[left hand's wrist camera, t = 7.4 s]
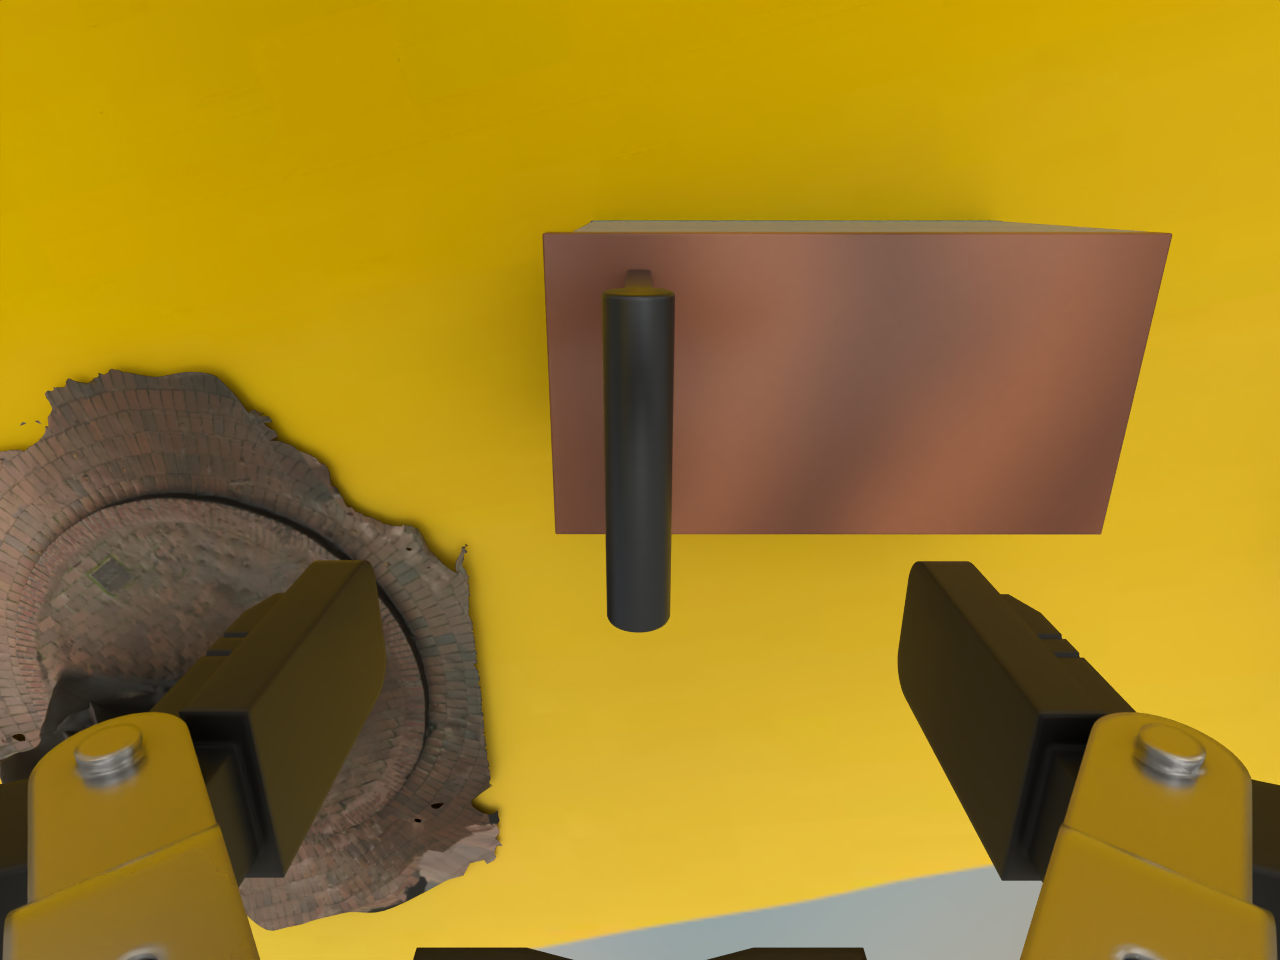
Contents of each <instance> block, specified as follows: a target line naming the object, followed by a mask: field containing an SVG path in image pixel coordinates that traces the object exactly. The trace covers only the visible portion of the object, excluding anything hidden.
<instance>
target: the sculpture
mask: <svg viewBox="0 0 1280 960" xmlns="http://www.w3.org/2000/svg"><path fill="white" fill-rule="evenodd" d="M53 388H54V387H53ZM45 395H46V398H47V399H48V400H49V402H50V404H51V406H52V412H51V413H50V415H49V416H48V424H49V427H47V426H45V428H46V431H45V433H44V435H43V436H42V438H41V439H40V440H39V441H38V442H37V443H35V444H34V445H32V446H30V447H29V448H27V450H26V451H21V450H9V451H3V452H0V779H1V781H2V784H4V783H9V782H14V781H19V780H23V779H28V778H29V777H30V775H31V773H32V770H33V769H34V767H35V766H36V765H37V763H38V762H39V761H40V760H41V759H42V758H43V757H44V756H45V755H46V754H47V753H48V752H49V751H51V750H52V749H53V748H54V747H56V746H57V745H58V744H60V743H61V742H63V741H64V740H66V739H67V738H69V737H71V736H73V735H74V734H76V733H78V732H80V731H82V730H84V729H86V728H89V727H91V726H93V725H96V724H98V723H101V722H104V721H106V720H110V719H113V718H117V717H120V716H125V715H130V714H136V713H144V712H149V711H150V710H151V709H152V708H153V707H154V706H155V705H156V704H157V703H158V701H159V700H160V699H161V698H162V697H163V696H164V695H165V694H166V693H167V692H168V691H169V690H170V689H171V688H172V687H173V686H174V685H175V684H176V683H177V682H178V681H179V679H180V678H181V677H182V676H183V675H184V674H185V673H186V672H187V671H188V670H189V669H190V668H191V667H192V666H193V665H194V664H195V663H196V662H197V661H198V660H199V658H200V657H201V656H206V651H207V650H208V649H209V648H210V647H211V646H212V645H213V644H214V643H215V642H216V641H217V640H218V639H219V638H223V637H224V632H225V631H226V630H227V629H228V628H229V627H230V626H231V625H232V624H233V623H234V622H235V621H236V620H237V619H238V618H239V617H240V616H241V614H242V613H243V612H244V611H246V610H248V609H250V608H251V607H253V606H255V605H256V604H258V603H260V602H262V601H263V600H265V599H267V598H269V597H270V596H272V595H274V594H275V593H285V592H286V591H287V590H288V589H289V588H290V586H291V585H292V584H293V583H294V582H295V581H296V580H297V579H298V578H299V576H300V575H301V574H302V573H303V572H304V571H305V570H306V569H307V568H308V566H309V565H310V564H311V563H312V562H314V561H316V560H367V561H369V562H370V563H371V565H372V567H373V569H374V573H375V577H376V584H377V591H378V599H379V606H380V613H381V620H382V627H383V634H384V642H385V649H386V671H385V678H384V683H383V687H382V690H381V692H380V695H379V697H378V699H377V701H376V703H375V704H374V706H373V708H372V710H371V712H370V714H369V716H368V718H367V720H366V722H365V724H364V725H363V727H362V729H361V731H360V733H359V735H358V737H357V739H356V741H355V743H354V745H353V747H352V748H351V750H350V752H349V754H348V756H347V758H346V760H345V762H344V764H343V766H342V768H341V769H340V771H339V773H338V775H337V777H336V779H335V781H334V783H333V785H332V787H331V789H330V791H329V792H328V794H327V796H326V798H325V800H324V802H323V804H322V806H321V808H320V810H319V812H318V813H317V815H316V817H315V819H314V821H313V823H312V825H311V827H310V829H309V831H308V833H307V834H306V836H305V838H304V840H303V842H302V844H301V846H300V848H299V850H298V852H297V854H296V856H295V857H294V859H293V861H292V863H291V865H290V867H289V869H288V871H287V873H286V875H285V877H284V878H244V880H243V882H242V883H241V885H240V887H239V891H240V895H241V898H242V901H243V905H244V908H245V911H246V915H247V916H248V917H249V918H251V919H252V920H253V921H254V922H255V923H256V924H258V925H259V926H261V927H262V928H264V929H266V930H272V931H274V930H278V929H282V928H286V927H290V926H296V925H300V924H304V923H307V922H309V921H312V920H316V919H319V918H324V917H328V916H333V915H337V914H341V913H346V912H366V913H373V912H380V911H384V910H387V909H390V908H393V907H395V906H398V905H400V904H402V903H404V902H406V901H408V900H410V899H412V898H414V897H416V896H418V895H420V894H422V893H424V892H426V891H428V890H429V889H431V888H433V887H435V886H437V885H439V884H441V883H442V882H444V881H446V880H448V879H452V878H456V877H459V876H463V875H464V873H465V871H466V869H467V867H468V866H469V864H470V863H472V862H476V861H481V860H485V862H486V863H487V864H488V863H490V862H492V861H493V860H495V858H496V856H495V855H494V852H495V849H496V846H502V845H501V844H500V843H499V841H498V840H497V839H495V838H496V836H497V835H498V834H499V830H498V827H497V824H498V822H499V817H498V811H497V812H496V813H494V814H484V813H482V812H480V811H478V810H476V809H475V808H474V807H473V806H472V804H471V802H472V800H473V799H474V798H476V797H477V796H478V795H479V794H481V793H482V792H483V791H485V790H486V789H488V788H489V786H490V785H492V784H490V785H489V781H490V771H489V769H488V767H489V763H488V761H487V752H486V749H485V746H486V743H485V736H484V735H483V734H484V733H485V732H483V731H484V724H483V722H484V721H483V712H481V710H482V708H481V705H482V704H481V701H482V699H481V691H480V686H479V683H478V682H479V676H478V670H477V669H476V667H475V666H474V664H475V663H477V660H476V654H477V653H476V649H474V648H475V645H474V644H475V641H474V636H473V634H474V633H473V632H472V630H473V628H472V621H471V620H470V617H469V615H468V612H469V610H468V607H469V601H468V597H469V596H470V595H469V589H468V588H469V584H468V578H469V576H468V575H467V574H466V571H465V569H464V568H463V567H462V563H463V560H464V553H466V552H467V551H466V550H465V547H462V551H461V553H460V555H459V557H458V559H457V561H456V568H455V569H456V570H457V572H458V573H455V572H453V571H452V570H450V569H449V568H447V567H446V566H445V565H444V564H442V563H441V562H440V561H439V560H438V558H437V557H436V556H435V555H434V553H432V552H431V550H430V549H429V548H428V546H427V544H426V542H425V540H424V538H423V536H422V534H421V532H420V531H419V530H418V529H417V528H414V527H413V526H409V525H408V526H406V525H402V526H396V525H395V526H392V525H387V524H383V523H381V522H380V521H378V520H375V519H374V518H372V517H365V516H364V515H363V514H362V513H358V512H355V511H354V509H353V508H352V507H350V508H349V507H347V506H346V505H345V503H344V501H343V497H342V496H341V495H340V493H339V491H338V489H337V488H336V487H334V486H331V480H330V473H329V471H328V470H327V468H328V467H326V466H325V465H324V464H321V463H320V462H319V461H318V459H316V458H314V457H313V456H311V455H309V454H306V453H303V452H300V451H298V450H297V449H296V448H294V447H293V446H291V445H288V444H286V443H283V442H281V441H270V440H272V439H274V438H276V437H277V433H276V432H275V431H274V430H272V429H270V428H268V427H267V426H266V425H265V424H264V423H268V422H271V421H272V420H271V419H270V418H269V417H266V416H259V415H260V414H264V413H257V411H256V410H250V412H249V413H248V412H247V411H246V409H245V408H244V406H243V405H242V403H241V402H240V401H239V399H238V398H237V397H236V396H235V395H234V393H233V392H232V391H231V390H229V389H228V388H227V387H226V386H225V385H224V384H223V383H222V382H221V380H219V379H218V378H217V377H216V376H214V375H211V374H207V373H201V372H184V373H177V374H172V375H167V376H162V377H148V376H142V375H136V374H132V373H125V372H121V371H119V370H113V369H111V370H109V372H108V373H107V374H105V375H102V374H100V373H99V377H97V378H94V379H93V380H92V381H91V382H90V383H81V382H76V381H73V380H71V379H67V381H66V386H65V387H57V388H54V390H53V391H47V392H46V393H45ZM35 422H37V423H40V422H39V421H35ZM23 424H26V423H24V422H23V423H21V425H23ZM40 424H41V423H40ZM21 425H20V426H21ZM465 545H466V544H465ZM466 546H468V545H466ZM406 548H411V549H412V550H411V551H407V550H406ZM428 567H430V568H428ZM15 734H23V735H24V736H25V738H26V740H25V741H18V740H15V739H14V738H13V737H12V736H13V735H15ZM492 786H493V785H492ZM490 787H491V786H490ZM436 803H444V805H442V806H441V807H440V808H438V809H434V808H432V807H431V805H432V804H436ZM415 819H420V820H421V822H420V823H418V822H415V821H414V820H415Z"/></svg>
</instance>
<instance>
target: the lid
mask: <svg viewBox="0 0 1280 960" xmlns="http://www.w3.org/2000/svg"><path fill="white" fill-rule="evenodd" d="M1171 238H1172V234H1171V233H1160V232H546V233H543V257H544V280H545V303H546V326H547V349H548V372H549V395H550V418H551V441H552V464H553V487H554V510H555V533H556V534H606V579H607V617H608V619H609V621H610V623H611V624H612V625H614V626H615V627H617V628H619V629H621V630H624V631H629V632H649V631H653V630H656V629H658V628H661V627H662V626H664V625H665V624H666V623H667V621H668V619H669V617H670V585H671V534H1101V532H1102V528H1103V524H1104V520H1105V516H1106V511H1107V507H1108V503H1109V499H1110V494H1111V490H1112V486H1113V482H1114V478H1115V473H1116V469H1117V465H1118V461H1119V457H1120V452H1121V448H1122V444H1123V440H1124V436H1125V431H1126V427H1127V423H1128V419H1129V415H1130V410H1131V406H1132V402H1133V398H1134V394H1135V389H1136V385H1137V381H1138V377H1139V373H1140V368H1141V364H1142V360H1143V356H1144V351H1145V347H1146V343H1147V339H1148V335H1149V330H1150V326H1151V322H1152V318H1153V314H1154V309H1155V305H1156V301H1157V297H1158V293H1159V288H1160V284H1161V280H1162V276H1163V272H1164V267H1165V263H1166V259H1167V255H1168V251H1169V246H1170V242H1171Z"/></svg>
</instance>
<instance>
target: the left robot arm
mask: <svg viewBox="0 0 1280 960" xmlns="http://www.w3.org/2000/svg"><path fill="white" fill-rule="evenodd" d="M385 671H386V649H385V642H384V634H383V627H382V620H381V613H380V606H379V599H378V591H377V584H376V577H375V573H374V569H373V567H372V565H371V563H370V562H369V561H367V560H316V561H314V562H312V563H311V564H310V565H309V566H308V568H307V569H306V570H305V571H304V572H303V573H302V574H301V575H300V576H299V578H298V579H297V580H296V581H295V582H294V583H293V584H292V585H291V586H290V588H289V589H288V590H287V591H286V592H285V593H275V594H274V595H272V596H270V597H269V598H267V599H265V600H263V601H262V602H260V603H258V604H256V605H255V606H253V607H251V608H250V609H248V610H246V611H244V612H243V613H242V614H241V616H240V617H239V618H238V619H237V620H236V621H235V622H234V623H233V624H232V625H231V626H230V627H229V628H228V629H227V630H226V631H225V632H224V637H223V638H219V639H218V640H217V641H216V642H215V643H214V644H213V645H212V646H211V647H210V648H209V649H208V650H207V651H206V656H201V657H200V658H199V660H198V661H197V662H196V663H195V664H194V665H193V666H192V667H191V668H190V669H189V670H188V671H187V672H186V673H185V674H184V675H183V676H182V677H181V678H180V679H179V681H178V682H177V683H176V684H175V685H174V686H173V687H172V688H171V689H170V690H169V691H168V692H167V693H166V694H165V695H164V696H163V697H162V698H161V699H160V700H159V701H158V703H157V704H156V705H155V706H154V707H153V708H152V709H151V710H150V711H149V712H144V713H136V714H130V715H125V716H120V717H117V718H113V719H110V720H106V721H104V722H101V723H98V724H96V725H93V726H91V727H89V728H86V729H84V730H82V731H80V732H78V733H76V734H74V735H73V736H71V737H69V738H67V739H66V740H64V741H63V742H61V743H60V744H58V745H57V746H56V747H54V748H53V749H52V750H51V751H49V752H48V753H47V754H46V755H45V756H44V757H43V758H42V759H41V760H40V761H39V762H38V763H37V765H36V766H35V767H34V769H33V770H32V773H31V775H30V777H29V778H28V779H23V780H19V781H14V782H9V783H4V784H0V960H260V958H259V954H258V951H257V948H256V944H255V941H254V938H253V934H252V931H251V928H250V924H249V921H248V918H247V915H246V911H245V908H244V905H243V901H242V898H241V895H240V891H239V887H240V885H241V883H242V882H243V880H244V878H284V877H285V875H286V873H287V871H288V869H289V867H290V865H291V863H292V861H293V859H294V857H295V856H296V854H297V852H298V850H299V848H300V846H301V844H302V842H303V840H304V838H305V836H306V834H307V833H308V831H309V829H310V827H311V825H312V823H313V821H314V819H315V817H316V815H317V813H318V812H319V810H320V808H321V806H322V804H323V802H324V800H325V798H326V796H327V794H328V792H329V791H330V789H331V787H332V785H333V783H334V781H335V779H336V777H337V775H338V773H339V771H340V769H341V768H342V766H343V764H344V762H345V760H346V758H347V756H348V754H349V752H350V750H351V748H352V747H353V745H354V743H355V741H356V739H357V737H358V735H359V733H360V731H361V729H362V727H363V725H364V724H365V722H366V720H367V718H368V716H369V714H370V712H371V710H372V708H373V706H374V704H375V703H376V701H377V699H378V697H379V695H380V692H381V690H382V687H383V683H384V678H385ZM898 674H899V680H900V685H901V688H902V691H903V694H904V696H905V698H906V700H907V702H908V704H909V706H910V708H911V710H912V712H913V713H914V715H915V717H916V719H917V721H918V723H919V725H920V727H921V729H922V730H923V732H924V734H925V736H926V738H927V740H928V742H929V744H930V746H931V747H932V749H933V751H934V753H935V755H936V757H937V759H938V761H939V763H940V764H941V766H942V768H943V770H944V772H945V774H946V776H947V778H948V780H949V781H950V783H951V785H952V787H953V789H954V791H955V793H956V795H957V797H958V798H959V800H960V802H961V804H962V806H963V808H964V810H965V812H966V814H967V815H968V817H969V819H970V821H971V823H972V825H973V827H974V829H975V831H976V832H977V834H978V836H979V838H980V840H981V842H982V844H983V846H984V848H985V849H986V851H987V853H988V855H989V857H990V859H991V861H992V863H993V865H994V866H995V868H996V870H997V872H998V874H999V876H1000V878H1001V880H1003V881H1042V882H1043V885H1042V888H1041V892H1040V895H1039V898H1038V901H1037V905H1036V908H1035V911H1034V915H1033V918H1032V921H1031V924H1030V928H1029V931H1028V934H1027V938H1026V941H1025V944H1024V948H1023V951H1022V954H1021V958H1020V960H1280V785H1275V784H1271V783H1266V782H1261V781H1256V780H1252V779H1251V777H1250V775H1249V773H1248V770H1247V769H1246V767H1245V766H1244V765H1243V763H1242V762H1241V761H1240V760H1239V759H1238V758H1237V757H1236V756H1235V755H1234V754H1233V753H1232V752H1231V751H1229V750H1228V749H1227V748H1226V747H1224V746H1223V745H1222V744H1220V743H1219V742H1217V741H1216V740H1214V739H1213V738H1211V737H1209V736H1207V735H1205V734H1204V733H1202V732H1200V731H1198V730H1196V729H1194V728H1191V727H1189V726H1187V725H1184V724H1182V723H1179V722H1176V721H1174V720H1170V719H1167V718H1163V717H1160V716H1155V715H1150V714H1144V713H1136V711H1135V710H1134V709H1133V708H1132V707H1131V706H1130V705H1129V704H1128V703H1127V702H1126V701H1125V700H1124V699H1123V698H1122V697H1121V696H1120V695H1119V694H1118V693H1117V692H1116V691H1115V690H1114V689H1113V688H1112V687H1111V686H1110V684H1109V683H1108V682H1107V681H1106V680H1105V679H1104V678H1103V677H1102V676H1101V675H1100V674H1099V673H1098V672H1097V671H1096V670H1095V669H1094V668H1093V667H1092V666H1091V665H1090V664H1089V663H1088V662H1087V661H1086V660H1085V659H1084V658H1080V657H1079V652H1078V651H1077V650H1076V649H1075V648H1074V647H1073V646H1072V645H1071V644H1070V643H1069V642H1068V641H1067V640H1066V639H1062V635H1061V634H1060V633H1059V631H1058V630H1057V629H1056V628H1055V627H1054V626H1053V625H1052V624H1051V623H1050V622H1049V621H1048V620H1047V619H1046V618H1045V617H1044V616H1043V615H1042V614H1041V613H1040V612H1038V611H1036V610H1035V609H1033V608H1031V607H1029V606H1028V605H1026V604H1024V603H1023V602H1021V601H1019V600H1017V599H1016V598H1014V597H1012V596H1010V595H1009V594H1000V593H999V592H998V591H997V590H996V589H995V588H994V587H993V586H992V585H991V584H990V582H989V581H988V580H987V579H986V578H985V577H984V576H983V575H982V574H981V573H980V571H979V570H978V569H977V568H976V567H975V566H974V565H973V564H972V563H970V562H967V561H918V562H916V563H915V564H914V565H913V566H912V568H911V571H910V574H909V579H908V586H907V593H906V600H905V607H904V614H903V621H902V628H901V635H900V642H899V649H898ZM413 960H572V959H568V958H564V957H560V956H556V955H552V954H549V953H545V952H541V951H537V950H534V949H530V948H417V949H416V952H415V955H414V959H413ZM708 960H867V959H866V955H865V952H864V949H863V948H750V949H747V950H743V951H739V952H735V953H731V954H727V955H724V956H720V957H716V958H712V959H708Z"/></svg>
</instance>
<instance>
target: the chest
mask: <svg viewBox="0 0 1280 960" xmlns="http://www.w3.org/2000/svg"><path fill="white" fill-rule="evenodd" d="M573 232H1144V231H1130V230H1115V229H1101V228H1086V227H1072V226H1057V225H1043V224H1028V223H1014V222H1002V221H591V223H589V224H587V225H585V226H583V227H581V228H579V229H577V230H575V231H573Z"/></svg>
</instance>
